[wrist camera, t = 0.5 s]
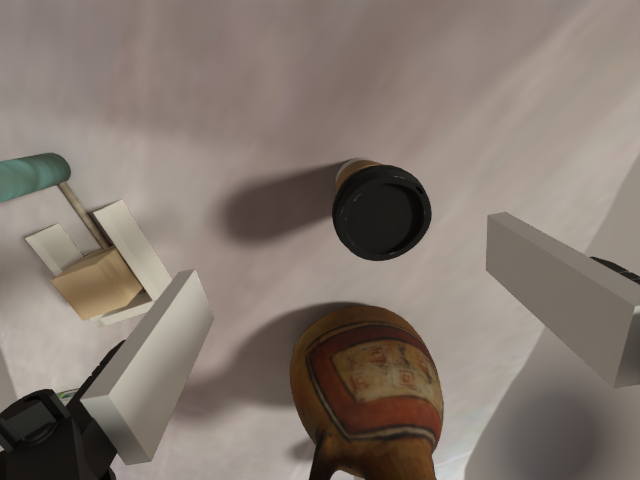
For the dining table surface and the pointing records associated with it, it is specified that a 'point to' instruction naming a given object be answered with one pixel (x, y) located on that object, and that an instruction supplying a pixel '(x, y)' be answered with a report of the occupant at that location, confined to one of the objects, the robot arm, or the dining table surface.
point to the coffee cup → (379, 209)
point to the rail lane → (131, 245)
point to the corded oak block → (94, 269)
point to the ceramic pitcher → (367, 396)
